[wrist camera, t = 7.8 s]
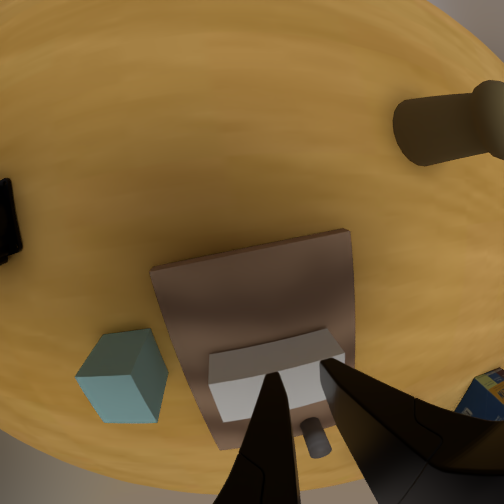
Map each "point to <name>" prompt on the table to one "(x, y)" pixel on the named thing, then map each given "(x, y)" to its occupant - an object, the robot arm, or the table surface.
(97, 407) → the block
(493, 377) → the protein box
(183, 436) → the table surface
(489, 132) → the olive pepper mill
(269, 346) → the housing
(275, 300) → the board
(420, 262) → the table surface
